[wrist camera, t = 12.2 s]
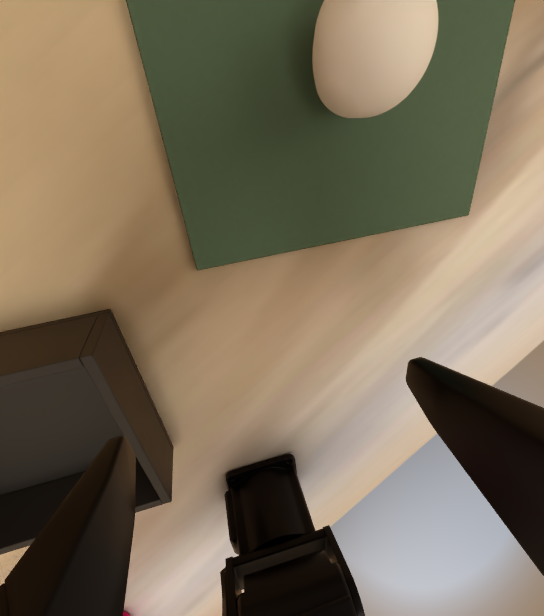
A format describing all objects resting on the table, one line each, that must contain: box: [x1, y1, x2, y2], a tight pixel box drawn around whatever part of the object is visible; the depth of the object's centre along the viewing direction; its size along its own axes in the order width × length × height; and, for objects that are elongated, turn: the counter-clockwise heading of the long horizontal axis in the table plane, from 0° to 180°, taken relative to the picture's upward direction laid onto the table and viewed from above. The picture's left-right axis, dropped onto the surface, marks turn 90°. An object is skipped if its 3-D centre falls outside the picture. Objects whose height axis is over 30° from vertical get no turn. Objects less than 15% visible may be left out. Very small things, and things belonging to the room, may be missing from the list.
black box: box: [0, 309, 173, 554], centre depth 19 cm, size 15×13×4 cm
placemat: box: [126, 0, 515, 270], centre depth 15 cm, size 18×18×1 cm
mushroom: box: [312, 0, 438, 118], centre depth 13 cm, size 5×5×5 cm
